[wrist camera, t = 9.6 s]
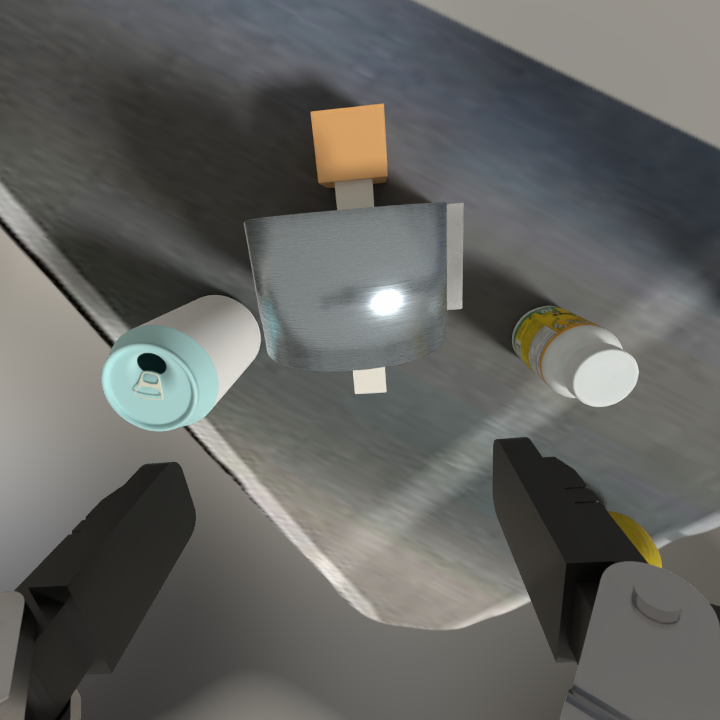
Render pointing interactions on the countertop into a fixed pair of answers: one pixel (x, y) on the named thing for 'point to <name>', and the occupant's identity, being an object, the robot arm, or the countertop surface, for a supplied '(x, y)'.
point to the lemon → (638, 538)
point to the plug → (353, 177)
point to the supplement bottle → (574, 356)
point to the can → (180, 363)
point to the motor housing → (357, 283)
